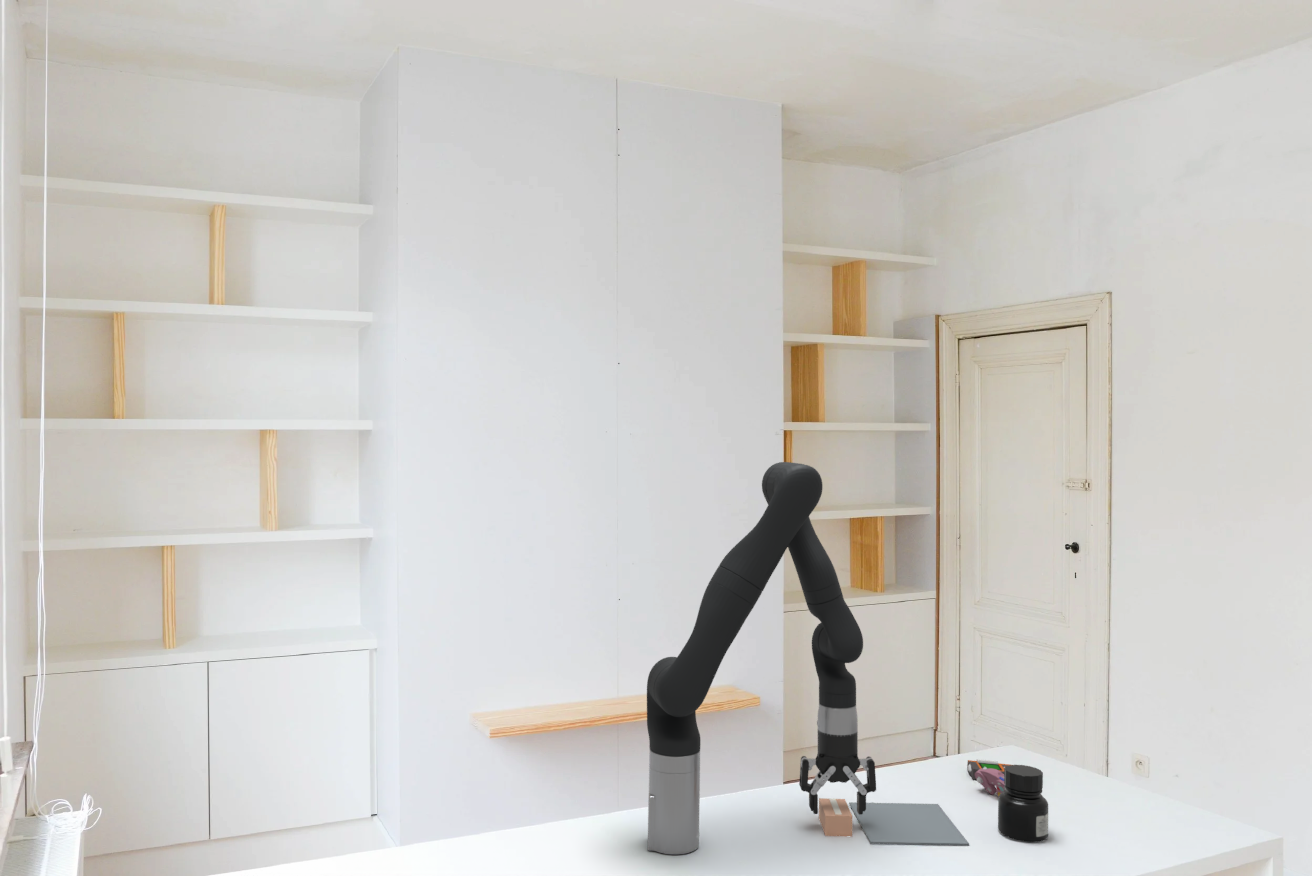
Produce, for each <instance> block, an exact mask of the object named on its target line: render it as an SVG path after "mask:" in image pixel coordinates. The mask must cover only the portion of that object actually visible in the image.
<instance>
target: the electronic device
mask: <svg viewBox="0 0 1312 876" xmlns="http://www.w3.org/2000/svg"><path fill="white" fill-rule="evenodd" d="M1009 765H1010V764H1006V763H1000V762H998V761H996V760H986V759H979V758H978V759H976V760H970V759H968V760H967V765H966V766H967V768H966V769H967V771H968V773H969V775H970V777H971V779H972V780H977V779H976V778H975V773H976V772H977V771H978V770H979V769H981V768H982V769H983V768H984V767H986V768H987V769H988V768H992V769H997V770H999V771H1000V772H1001V773H1003V774H1004V768H1005V766H1009Z"/></svg>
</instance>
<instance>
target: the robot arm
mask: <svg viewBox="0 0 1312 876" xmlns="http://www.w3.org/2000/svg"><path fill="white" fill-rule="evenodd" d="M761 490H762V494H763V497H764V499H765V502H766V503H767V507H766V509H765V510H764V512H763V514H762V516H761V517H760V519H759V521H758V522H757V523H756V525H755V526H754V527H753V528H752V529H751V530H749V532H748V533H747V534H746V535H745V536H744V537H743V538H742V539H741V540H740V541H739V542H738V543H736V544H735V545H734V546H733V547H732V548H731V549H730V550H729V551H728V552H727V553H726V555H724V557H723V559H722V560H721V561H720V563H719V565H718V567H717V568H716V570H715V572H714V574H713V575H712V577H711V578H710V580H709V582H708V583H707V586H706V588H705V591H704V593H703V595H702V596H703V597H702V599H701V602H700V605H699V609H698V613H697V617H696V621H695V624H694V626H693V629H692V632H691V634H690V636H689V638H688V640H687V642H686V643H685V645H684V646H683V647H682V650H681V651H680V653H679V654H678V656H667V657H664V658H662V659H659V660H658V661H657V662H656V663H655V664H654V665H653V666H652V668H651V669H650V671H649V673H648V677H647V683H646V726H647V732H648V733H647V734H648V739H649V741H648V743H649V745H648V747H649V763H648V764H649V765H648V767H649V768H648V771H649V773H648V801H647V802H648V807H647V808H648V809H647V812H648V813H647V814H648V815H647V816H648V817H647V851H651V852H652V851H653V852H658V853H660V854H666V855H684V854H689V853H691V852H694V851H695V850H697V849H698V848H699V845H700V797H701V796H700V795H701V794H700V792H701V788H700V787H701V785H700V784H701V782H700V781H701V734H700V731H699V727H698V724H697V716H696V714H697V713H696V712H697V710H698V709H699V708H700V707H701V705H703V702H704V701H705V699H706V696H707V695H708V693H709V690H710V688H711V686H712V683H713V681H714V678H715V677H716V675H717V672H718V670H719V668H720V667H721V664H722V661H723V659H724V657H725V655H726V653H727V651H728V650H729V649H730V647H731V645H732V643H733V642H734V640H736V637H737V635H738V634H739V632H740V630H741V628H742V627H743V626H744V624H745V622H746V620H747V619H748V616H749V615H750V614H751V612H752V611H753V609H754V607H755V605H756V604H757V602H758V601H759V599H760V597H761V595H762V594H763V592H764V590H765V587H766V586H767V584H768V582H769V580H770V579H771V576H772V575H773V574H774V572H775V570H776V569H777V567H778V564H779V563H780V561H781V560H782V558H783V556H784V554H785V552H786V551H787V549H788V551H789V553H790V557H791V559H792V562H793V565H794V567H795V568H794V569H795V571H796V574H797V577H798V581H799V583H800V586H801V590H802V592H803V597H804V599H805V602H806V606H807V608H808V611H809V612H810V614H811V615H813V616H814V617H815V618H816V619H817V620H819V621H820V623H818V624H817V626H816V627H815V628H814V630H813V633H812V636H811V637H812V638H811V652H812V658H813V661H814V662H813V663H814V666H815V672H816V675H817V677H818V710H817V719H816V720H817V721H816V725H817V755H816V757H815V758H812V757H811V758H809V757H807V756H806V755H802V756H801V757H800V767H799V783H798V785H799V787H800V789H801V791H802V792H806V793H808V806H809V809H810V811H811V812H812V813H813V814H814V815H819V797H818V792H819V791H820V789H821V788H822V787H824V786H825V785H826V783H827V782H830V783H838V782H839V783H841V784H842V783H844V784H845V783H847V782H849V781H851V783H852V784H853V785H854V787H855V788H856V790H858V791H856V803H857V812H858V814H863V811H865V810H866V803H867V794H868V793H874V792H876V791H877V780H876V779H877V777H876V765H875V761H874V759H873V758H872V756H867V757H866V758H859V756H858V755H859V753H858V749H859V748H858V744H859V743H858V741H859V739H858V735H859V734H858V733H859V732H858V721H859V720H858V712H857V683H856V678H855V676H854V675H853V674H852V673H851V672H850V671H849V670H848V669H847V667H846V664H850V663H853V662H856V661H857V660H858V659H859V658H860V657H861V655H862V653H863V649H864V638H863V637H864V636H863V633H862V631H861V628H860V626H859V624H858V622H857V620H856V619H855V616H854V615H853V613H852V612H853V611H852V610H851V609H850V607H849V605H848V604H847V603H846V601H845V599H844V595H843V592H842V587H841V585H840V580H839V578H838V574H837V572H836V569H835V566H834V564H833V563H832V560H831V558H830V557H829V554H828V553H827V551H826V548H825V547H824V546H823V544H822V542H821V541H820V539H819V537H818V535H817V533H816V531H815V529H814V527H813V524H812V520H811V518H810V515H811V514H812V513H813V511H814V510H815V508H817V505H818V504H819V501H820V500H821V496H822V494H823V480H822V477H821V474H820V472H818V470H817V469H816V468H814V467H813V466H811V465H808V464H805V463H797V462H792V461H791V462H790V461H789V462H788V461H784V462H783V461H780V462H776V463H774V464H772V465H770V467H768V468H767V469H766V471H765V472H764V474H763V477H762V480H761ZM814 766H816V768H817V769H818V772H817V773H816V775H815V776H814V779H813V780H812V781H811V782H810V783H808V782H809V772H810V771H811V770H813V767H814ZM861 766H862V768H863V771H865V772H866V783H865V784H863V783H862V782H861V781H860V779H859V778H858V776H857V775H856V773H857V771H858V769H859V768H860V767H861Z"/></svg>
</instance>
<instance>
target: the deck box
mask: <svg viewBox="0 0 1312 876" xmlns="http://www.w3.org/2000/svg"><path fill="white" fill-rule="evenodd" d="M849 807H850V806H849V805H848V803H847V800H846V799H845V798H821V797H818V820H819V819H820V820H819V822H820V825H821V828H822V831H823V832H824V833H823V834H824V836H825V837H847V836H850V837H849V838H851V837H853V814H852V812H851V810H850V808H849Z"/></svg>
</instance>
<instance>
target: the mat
mask: <svg viewBox="0 0 1312 876" xmlns="http://www.w3.org/2000/svg"><path fill="white" fill-rule="evenodd" d="M848 804H850V805H849V807H850V809H851V808H852V809H851V811H852V810H853V811H852V812H853V814H854V816H855V818H856V819H857V820H856V821H857V822H858V821H859V822H858V824H859V823H860V824H859V825H860V828H861V829H862V831H863V833H864V835H865V836H866V839H867V840H868V842H869V844H870V845H894V844H897V845H898V846H901V845H903V846H905V845H906V846H910V845H911V846H954V847H955V846H956V847H957V846H958V847H959V846H960V847H968V846H970V843H969V841H968V840H967V839H966V837H964V835H963V834H962V832H961V831H960V830H959V828H958V827H957V826H956V824H954V822H953V821H952V820H951V819H950V817H949V815H948V814H946V812H945V811H944V810H943V809H942V807H941V805H940V804H939V803H910V802H907V803H906V802H905V803H903V802H897V803H896V802H866V810H865V811H863V814H858V812H857V801H856V802H849V803H848Z"/></svg>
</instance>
